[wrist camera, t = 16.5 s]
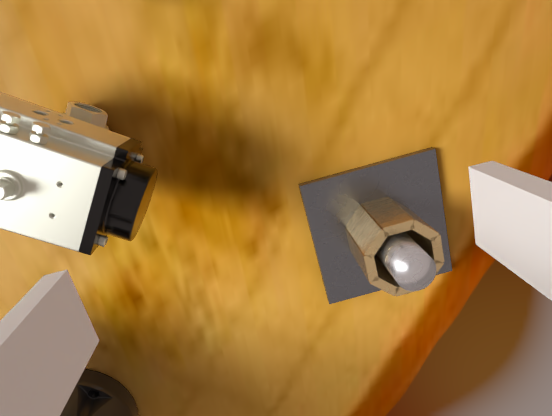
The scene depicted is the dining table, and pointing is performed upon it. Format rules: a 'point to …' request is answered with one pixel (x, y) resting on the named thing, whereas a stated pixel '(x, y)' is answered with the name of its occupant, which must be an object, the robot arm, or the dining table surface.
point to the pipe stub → (396, 248)
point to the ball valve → (69, 176)
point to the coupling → (377, 227)
